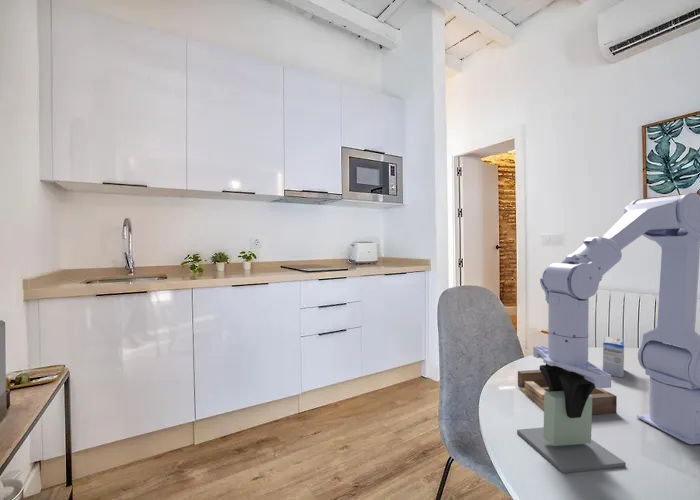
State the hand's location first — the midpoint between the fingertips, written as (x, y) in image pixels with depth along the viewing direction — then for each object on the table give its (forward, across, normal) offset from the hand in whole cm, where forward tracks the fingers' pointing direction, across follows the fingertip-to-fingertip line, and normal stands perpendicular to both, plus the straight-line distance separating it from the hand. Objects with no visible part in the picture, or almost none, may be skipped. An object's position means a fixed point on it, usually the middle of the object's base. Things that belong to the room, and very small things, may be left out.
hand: (567, 412), depth 57 cm
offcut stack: (+7, -16, +7) cm, 19 cm away
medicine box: (+6, -29, +40) cm, 49 cm away
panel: (+5, 0, 0) cm, 5 cm away
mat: (+6, 0, 0) cm, 6 cm away
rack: (+6, -17, +14) cm, 23 cm away
